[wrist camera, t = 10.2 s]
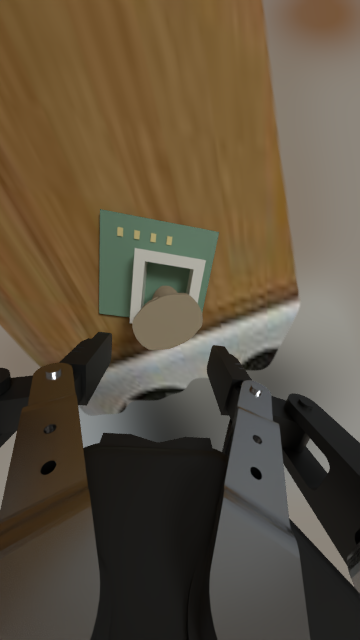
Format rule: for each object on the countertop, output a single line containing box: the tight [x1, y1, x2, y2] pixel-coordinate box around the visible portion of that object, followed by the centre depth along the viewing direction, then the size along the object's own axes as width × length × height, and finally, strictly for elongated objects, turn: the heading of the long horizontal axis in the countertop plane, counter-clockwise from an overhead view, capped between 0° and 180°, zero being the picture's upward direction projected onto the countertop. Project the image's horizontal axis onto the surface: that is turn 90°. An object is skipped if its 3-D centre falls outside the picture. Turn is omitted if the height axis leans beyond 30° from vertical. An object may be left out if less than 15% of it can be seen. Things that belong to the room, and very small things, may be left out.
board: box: [99, 209, 219, 317], centre depth 29 cm, size 16×18×1 cm
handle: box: [132, 286, 203, 350], centre depth 23 cm, size 5×6×15 cm
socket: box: [130, 248, 206, 323], centre depth 28 cm, size 12×10×4 cm
